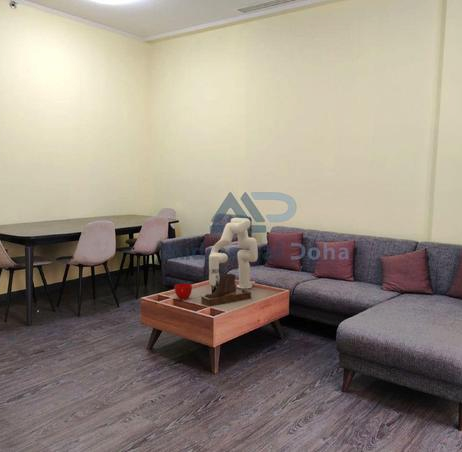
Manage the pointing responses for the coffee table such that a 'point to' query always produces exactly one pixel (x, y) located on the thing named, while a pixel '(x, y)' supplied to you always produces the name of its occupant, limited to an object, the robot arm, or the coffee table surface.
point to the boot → (224, 286)
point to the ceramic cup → (183, 291)
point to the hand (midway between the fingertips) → (214, 294)
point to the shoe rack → (226, 298)
